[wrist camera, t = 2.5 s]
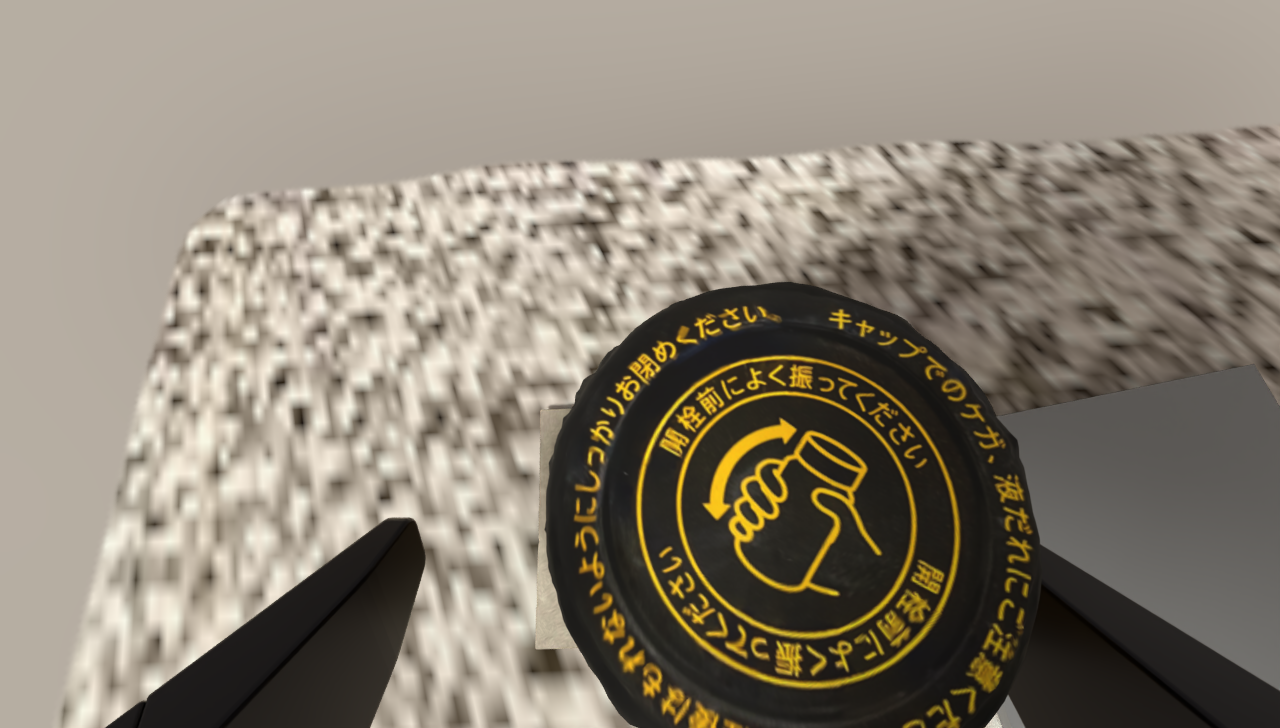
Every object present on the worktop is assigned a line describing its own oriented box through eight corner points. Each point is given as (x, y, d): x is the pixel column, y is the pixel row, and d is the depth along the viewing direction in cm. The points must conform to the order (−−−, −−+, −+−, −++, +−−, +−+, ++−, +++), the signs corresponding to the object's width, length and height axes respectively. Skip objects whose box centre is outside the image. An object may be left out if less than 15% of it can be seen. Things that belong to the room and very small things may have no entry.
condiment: (817, 638, 15) (1280, 938, 4) (536, 648, 16) (212, 965, 4) (787, 401, 18) (1029, 166, 6) (542, 411, 18) (342, 198, 6)
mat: (1484, 785, 14) (1513, 793, 13) (1059, 886, 13) (1074, 899, 13) (1237, 368, 18) (1253, 364, 17) (899, 437, 17) (905, 435, 17)
